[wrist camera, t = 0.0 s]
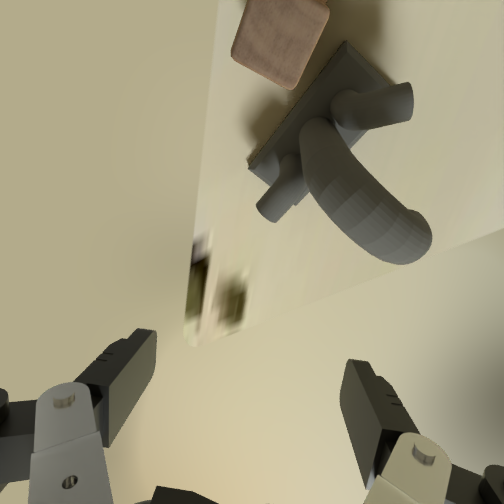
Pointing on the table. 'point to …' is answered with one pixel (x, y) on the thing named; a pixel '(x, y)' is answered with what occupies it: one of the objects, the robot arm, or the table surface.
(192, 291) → the table surface
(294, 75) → the wooden block
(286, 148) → the faucet
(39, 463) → the robot arm
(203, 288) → the table surface
